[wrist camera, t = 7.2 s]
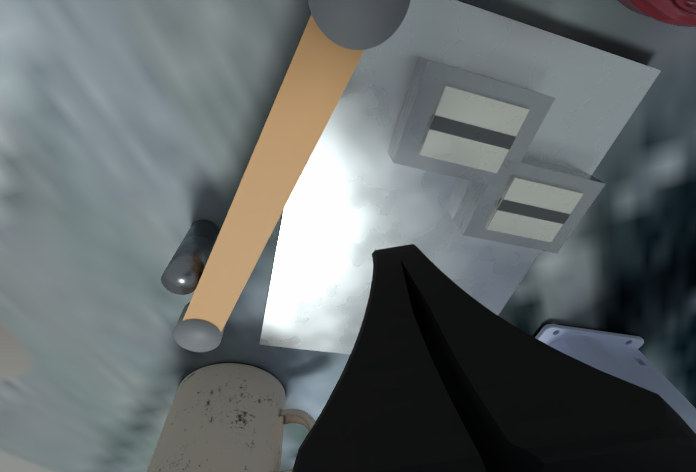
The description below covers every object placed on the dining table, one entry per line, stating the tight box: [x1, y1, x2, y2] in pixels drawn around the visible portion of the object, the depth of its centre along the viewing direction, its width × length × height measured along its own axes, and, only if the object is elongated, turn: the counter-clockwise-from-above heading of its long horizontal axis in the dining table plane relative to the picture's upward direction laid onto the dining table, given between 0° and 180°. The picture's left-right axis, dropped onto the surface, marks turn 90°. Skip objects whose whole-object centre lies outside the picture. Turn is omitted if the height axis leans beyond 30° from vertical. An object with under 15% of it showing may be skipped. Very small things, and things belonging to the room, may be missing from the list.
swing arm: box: [173, 0, 410, 352], centre depth 15 cm, size 20×3×4 cm, turn 151°
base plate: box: [161, 0, 661, 354], centre depth 19 cm, size 21×22×4 cm
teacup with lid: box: [147, 363, 316, 472], centre depth 24 cm, size 12×9×12 cm
